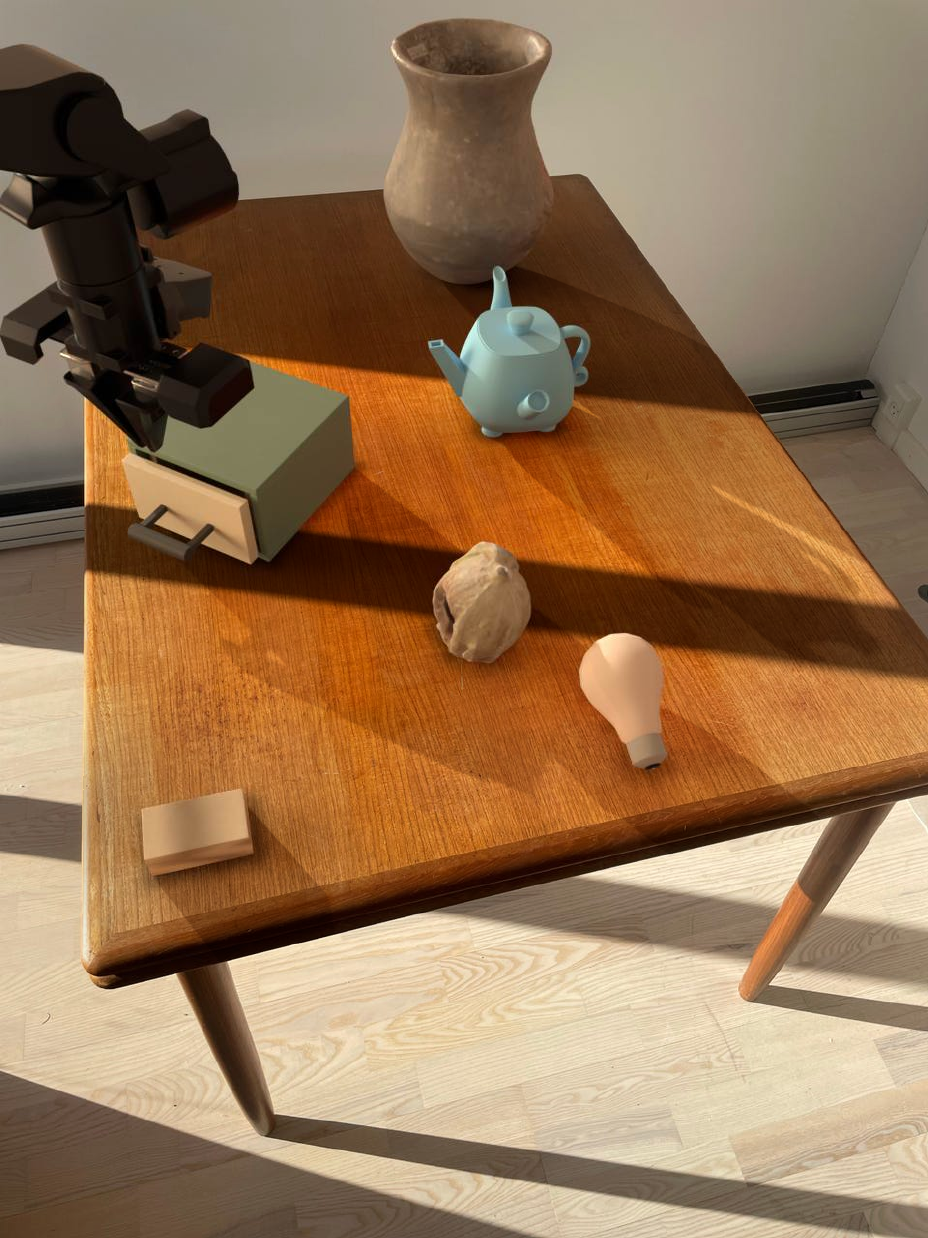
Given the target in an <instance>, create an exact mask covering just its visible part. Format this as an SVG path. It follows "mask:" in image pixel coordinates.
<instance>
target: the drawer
mask: <svg viewBox="0 0 928 1238" xmlns="http://www.w3.org/2000/svg"><path fill="white" fill-rule="evenodd" d="M149 457H150V461H149V460H147V459H144V458H142V457H139V456H137V455H134V454H132V453H131V452H129V453H128V454H127V455H126V456H124V458H122V459H121V464H122V467H123V470H124V473H125V476H126V480H127V483H128V486H129V489H130V492H131V495H132V499H133V501H134V505H135V508H136V511H137V514H138V517H139V518H140V519H143V521H141V522H140V523H137V522H134V523H132V524H131V525H130V526H129V528H128V531H127V537H128V538H129V539H131V540H133V541H135V542H138V543H140V544H142V545H145V546H147V547H150V548H152V549H153V550H156V551H159V552H161V553H163V554H166V555H168V556H170V557H173V558H175V559H178V560H179V561H182V562H184V563H190V562H191V561H192V560H193V559H194V556H195V554H196V549H197V548H198V547H199V546H200V545H204V546H206V547H208V548H211V549H214V550H215V551H217V552H221V553H223V554H226V555H228V556H230V557H232V558H234V559H237V560H239V561H242V562H244V563H246V564H248V565H252V564H253V563H254V562H255V561H256V560H257V559H258V558H259V557H258V556H259V555H258V550H257V545H256V540H257V541H259V539H258V534H257V529H256V524H255V518H254V513H253V508H252V503H251V498H250V494H249V493H246V492H244V491H241V490H239V489H236V488H234V487H231V486H229V485H226V484H224V483H221V482H219V481H216V480H214V479H211V478H209V477H206V476H204V475H201V474H198V473H196V472H193V471H191V470H188V469H186V468H183V467H181V466H178V465H176V464H173V463H171V462H168V461H166V460H163V459H161V458H158V457H156V456H153V455H151V454H149ZM153 525H156V526H159V527H162V528H164V529H166V530H169V531H170V532H173V533H176V534H178V535H180V536H182V537H185V538H186V539H189V541H187V543H184V542H182V541H180V540H177V539H175V538H172V537H170V536H167V535H166V534H163V533H160V532H158V531H156V530H154V529H151V528H152V527H153Z"/></svg>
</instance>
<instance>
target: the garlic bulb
mask: <svg viewBox="0 0 928 1238" xmlns="http://www.w3.org/2000/svg"><path fill="white" fill-rule="evenodd" d="M530 594H531V593H530V591H529V589H528V586H527V583H526V581H525V579H524V577H523V575H521V573H520V565H519V563H518V561H517V559H516V558H515V557H514V555H513V553H512V552H511V551H510V550H508V549H507V548H505V547H503V546H501V545H499V544H496V543H494V542H487V541H480V542H478V543H477V544H475V545H474V546H472V547H471V549H470V550H468V551H467V552H466V553H465V554H464V555H463V556H461V557H460V558H458V559H456V560H454V561H453V562H452V563H451V565H450V567H449V570H448V571H447V572H445V574H444V575H443V576H442V577H441V578H440V579H439V581H438V582H437V584H436V586H435V588H434V590H433V597H432V605H433V614H434V616H435V618H436V620H437V623H436V625H435V627H436V629H437V630H438V631H439V635H440V637H441V639H442V642H443V643H444V644H445V645H446V646H447V648H448V652H449V653H450V654H452V655H453V656H454V657H457V658H458V659H459V658H460V659H464V660H465V661H467V662H469V663H484V664H491V663H494V661H496V660H497V659H498V658H499V657H500V656H501V655H502V654H504V653H505V652H506V651H508V650H509V649H510V648H511V647H512V646H514V644H516V642H517V640H519V638H520V637H521V635H522V634H523V632H524V631H525V629H526V627H527V625H528V623H529V621H530V619H531V614H532V604H531V595H530Z"/></svg>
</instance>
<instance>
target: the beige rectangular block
mask: <svg viewBox="0 0 928 1238" xmlns="http://www.w3.org/2000/svg"><path fill="white" fill-rule="evenodd" d="M250 821H251V820H250V813H249V806H248V802H247V799H246V795H245V792H244V788H237V789H232V790H227V791H223V792H217V793H212V794H208V795H203V796H198V797H194V798H189V799H183V800H179V801H174V802H169V803H165V804H160V805H154V806H149V807H146V808H142V809H141V824H142V826H141V827H142V840H143V843H142V844H143V860H144V862H145V865H146V866H147V868H148V870H149V872H150V874H151V876H152V877H155V876H160V875H164V874H165V875H166V874H169V873H173V872H177V871H183V870H187V869H192V868H197V867H201V866H205V865H210V864H215V863H218V862H219V863H220V862H224V861H228V860H232V859H237V858H241V857H247V856H250V855H254V854H255V850H254V843H253V835H252V827H251V822H250Z"/></svg>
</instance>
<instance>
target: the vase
mask: <svg viewBox="0 0 928 1238" xmlns="http://www.w3.org/2000/svg"><path fill="white" fill-rule="evenodd" d="M390 52H391V55H392V58H393V61H394V63H395V65H396V67H397V69H398V71H399V73H400V75H401V77H402V79H403V82H404V85H405V88H406V94H407V99H408V105H407V106H408V108H407V112H406V113H407V114H406V117H405V121H404V125H403V128H402V131H401V134H400V136H399V140H398V142H397V145H396V148H395V151H394V153H393V156H392V159H391V161H390V164H389V167H388V170H387V173H386V177H385V180H384V185H383V201H384V205H385V210H386V214H387V217H388V220H389V222H390V224H391V227H392V229H393V231H394V233H395V235H396V236H397V238H398V240H399V242H400V243H401V245H402V246H403V247H404V249H405V251H406V252H407V253H408V255H410V257H411V258H412V259H413V260H414V261H415V262H416V263H417V265H419V266H420V267H421V268H423V269H424V270H425V271H426V272H428V273H429V274H431V275H432V276H433V277H435V278H437V279H439V280H441V281H444V282H447V283H451V284H455V285H476V284H481V283H485V282H488V281H490V280H494V278H493V269H494V267H496V266H499V267H501V268H502V269H503V271H504V272H505V273H506V272H508V271H509V270H511V269H512V268H513V267H515V266H516V265H518V264H519V263H520V262H521V261H522V260H523V259H524V258H526V256H527V255H528V254H529V253H530V252H531V250H532V249H533V248H534V247H535V245H537V243H538V241H539V240H540V239H541V237H542V235H543V233H545V230H546V228H547V226H548V223H549V221H550V218H551V215H552V212H553V210H554V203H555V195H554V189H553V182H552V178H551V176H550V174H549V171H548V169H547V166H546V164H545V161H544V158H543V155H542V152H541V150H540V146H539V143H538V139H537V135H536V130H535V126H534V123H533V118H532V106H533V100H534V97H535V95H536V92H537V91H538V88H539V86H540V83H541V80H542V78H543V76H544V74H545V73H546V71H547V69H548V66H549V64H550V61H551V60H552V59H551V58H552V55H553V47H552V42H551V41H550V40H549V39H548V38H547V37H546V36H544V35H543V34H542V33H540V32H538V31H536V30H534V29H530V28H526V27H523V26H520V25H517V24H514V23H510V22H505V21H502V20H496V19H491V18H489V19H488V18H466V17H462V18H461V17H457V18H455V17H454V18H445V19H438V20H432V21H426V22H423V23H419V24H416V25H415V26H413V27H410V28H409V29H407V30H405V31H403V32H401V33H400V34H398V35H397V36H396V37H395V38H393V40H392V42H391V46H390Z"/></svg>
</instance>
